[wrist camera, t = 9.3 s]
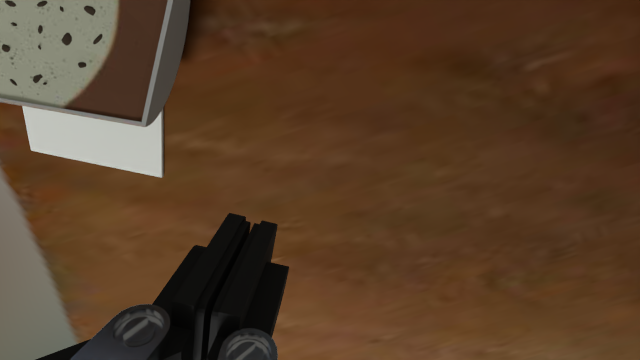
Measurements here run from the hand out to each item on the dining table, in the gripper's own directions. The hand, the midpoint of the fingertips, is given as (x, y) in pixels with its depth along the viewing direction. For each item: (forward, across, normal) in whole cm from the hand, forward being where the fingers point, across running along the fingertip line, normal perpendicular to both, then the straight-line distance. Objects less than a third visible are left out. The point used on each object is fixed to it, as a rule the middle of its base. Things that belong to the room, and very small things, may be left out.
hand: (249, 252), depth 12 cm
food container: (+12, +8, -4) cm, 15 cm away
